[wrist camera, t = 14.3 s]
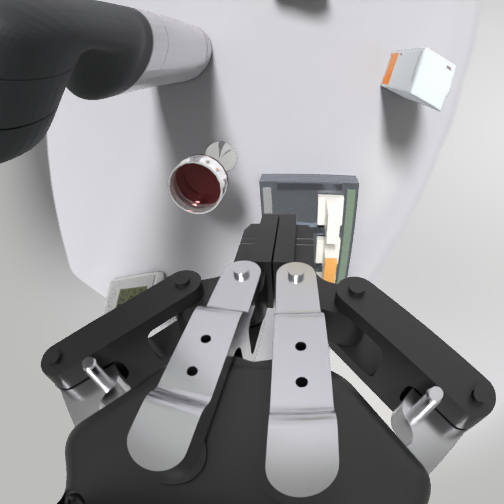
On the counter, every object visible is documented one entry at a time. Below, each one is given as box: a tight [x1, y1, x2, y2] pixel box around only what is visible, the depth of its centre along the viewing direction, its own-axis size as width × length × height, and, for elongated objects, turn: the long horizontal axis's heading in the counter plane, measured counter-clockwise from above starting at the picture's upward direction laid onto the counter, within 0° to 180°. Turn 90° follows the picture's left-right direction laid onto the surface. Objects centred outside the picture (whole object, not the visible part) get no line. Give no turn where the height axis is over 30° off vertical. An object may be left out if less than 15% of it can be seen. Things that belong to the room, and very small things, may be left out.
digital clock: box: [102, 272, 165, 316], centre depth 56 cm, size 16×9×11 cm, turn 97°
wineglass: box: [168, 141, 237, 214], centre depth 36 cm, size 7×7×12 cm
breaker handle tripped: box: [315, 236, 341, 283], centre depth 41 cm, size 4×4×6 cm
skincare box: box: [381, 47, 456, 111], centre depth 24 cm, size 6×4×12 cm
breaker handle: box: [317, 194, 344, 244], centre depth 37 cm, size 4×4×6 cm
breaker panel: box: [259, 174, 359, 284], centre depth 45 cm, size 14×22×4 cm, turn 5°
